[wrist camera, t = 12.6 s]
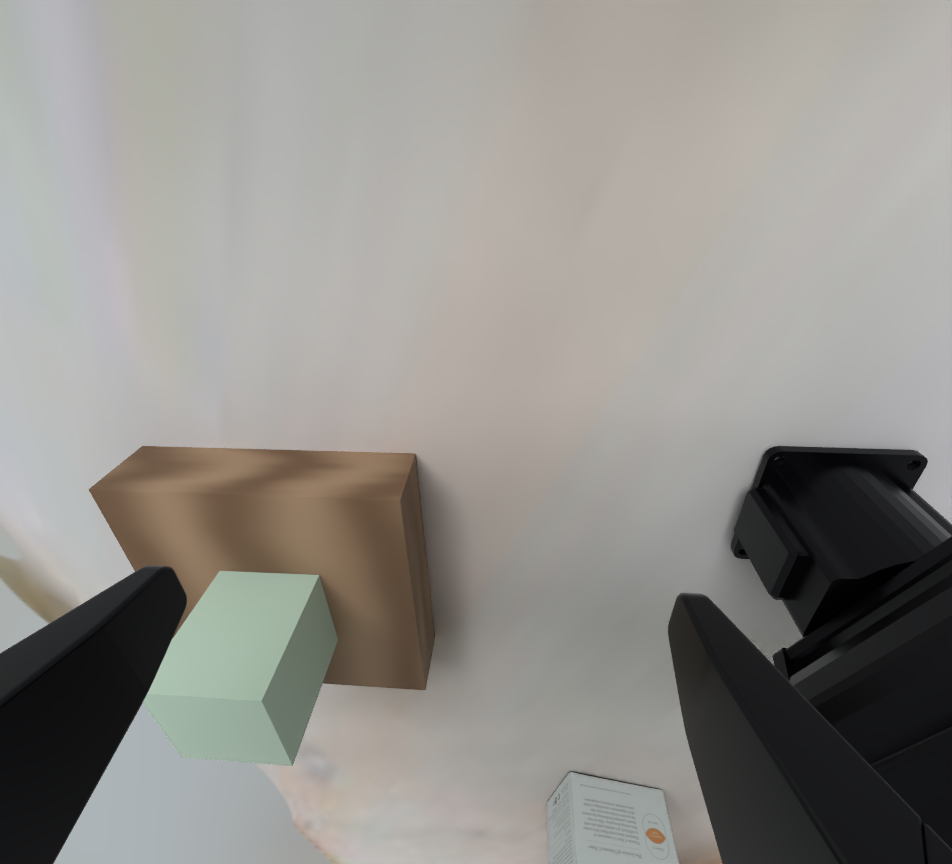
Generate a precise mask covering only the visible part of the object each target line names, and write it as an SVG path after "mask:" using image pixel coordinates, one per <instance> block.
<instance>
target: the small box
mask: <svg viewBox="0 0 952 864" xmlns="http://www.w3.org/2000/svg"><path fill="white" fill-rule="evenodd" d="M546 808H547V830H548V854H549V864H679V859H678V854H677V850H676V845H675V841H674V836H673V832H672V828H671V823H670V819H669V814H668V810H667V806H666V801H665V797H664V793H663V791H662V790H660V789H654V788H649V787H644V786H638V785H633V784H628V783H623V782H618V781H613V780H608V779H603V778H598V777H593V776H588V775H583V774H578V773H574V772H570V773H569V774H568V775H567V776H566V777H565V779H564V780H563V781H562V783H561V784H560V786H559V787H558V788H557V790H556V791H555V792H554V794H553V795H552V797H551V798H550V799H549V801H548V802H547V804H546Z"/></svg>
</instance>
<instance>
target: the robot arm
mask: <svg viewBox="0 0 952 864" xmlns="http://www.w3.org/2000/svg"><path fill="white" fill-rule="evenodd" d="M778 456H781V457H780V458H779V459H778V460H774V459H775V458H776V457H778ZM910 462H911V463H910ZM927 462H928V461H927V458H926V457H924V456H923V455H922V454H920V453H919V452H918V451H915V450H891V449H857V448H823V447H789V446H777V447H773V448H770V449H769V450H767V451H766V452H765V454H764V456H763V459H762V461H761V464H760V467H759V470H758V472H757V475H756V478H755V480H754V483H753V486H752V488H751V489H750V490H749V491H748V493H747V496H746V498H745V501H744V504H743V507H742V509H741V512H740V515H739V518H738V520H737V523H736V526H735V529H734V531H735V535H734V538H733V541H732V543H731V550H732V552H733V554H734V555H735V557H737V558H741V559H750V560H751V562H752V564H753V566H754V568H755V570H756V571H757V573H758V575H759V577H760V579H761V581H762V582H763V584H764V586H765V588H766V590H767V592H768V593H769V594H770V596H771V597H772V598H773V599H776V600H782V601H783V602H784V604H785V606H786V608H787V610H788V611H789V613H790V615H791V617H792V618H793V620H794V622H795V624H796V625H797V627H798V629H799V631H800V632H801V634H802V636H803V638H802V639H800V640H799V641H797V642H796V643H794V644H793V645H792V646H790V647H789V648H787V649H786V648H782V649H781V650H780V651H778V652H777V653H775V654H774V655H773V660H774V665H775V666H774V665H773V664H772V663H771V662H770V661H769V660H768V659H767V658H766V657H765V656H764V655H763V654H762V653H761V652H760V651H759V650H758V649H757V648H756V647H755V646H754V644H753V643H752V642H751V641H750V640H749V639H748V638H747V637H746V636H745V635H744V634H743V633H742V632H741V631H740V630H739V629H738V628H737V627H736V626H735V625H734V624H733V623H732V622H731V621H730V620H729V619H728V618H727V617H726V616H725V614H724V613H723V612H722V611H721V610H720V609H719V608H718V607H717V606H716V605H715V604H714V603H713V602H712V601H711V600H710V599H709V598H708V597H706V596H705V595H703V594H692V593H681V594H679V595H678V596H677V598H676V601H675V605H674V608H673V611H672V614H671V618H670V621H669V625H668V636H669V643H670V648H671V654H672V660H673V665H674V671H675V677H676V682H677V688H678V694H679V700H680V705H681V711H682V716H683V722H684V727H685V732H686V736H687V739H688V743H689V747H690V751H691V754H692V758H693V761H694V765H695V768H696V772H697V775H698V779H699V782H700V786H701V789H702V793H703V796H704V800H705V804H706V807H707V811H708V814H709V818H710V821H711V825H712V828H713V832H714V835H715V839H716V842H717V846H718V849H719V853H720V856H721V860H722V863H723V864H952V524H950V523H949V522H948V521H947V520H946V519H945V518H944V517H943V516H942V515H940V514H939V513H938V512H937V511H936V510H935V509H934V508H933V507H931V506H930V505H929V504H928V503H927V502H926V501H925V500H924V499H922V498H921V497H920V496H919V495H918V494H917V493H916V492H915V491H913V490H912V489H913V487H914V486H915V484H916V482H917V481H918V479H919V477H920V476H921V474H922V472H923V471H924V469H925V467H926V465H927ZM742 548H743V549H742ZM186 605H187V595H186V593H185V591H184V589H183V587H182V585H181V583H180V581H179V579H178V577H177V575H176V573H175V571H174V569H173V568H171V567H169V566H160V565H149V566H145V567H143V568H141V569H139V570H138V571H136V572H134V573H133V574H131V575H129V576H128V577H126V578H124V579H123V580H121V581H119V582H118V583H116V584H114V585H113V586H111V587H109V588H108V589H106V590H104V591H103V592H101V593H100V594H98V595H96V596H95V597H93V598H91V599H90V600H88V601H86V602H85V603H83V604H81V605H80V606H78V607H76V608H75V609H73V610H71V611H70V612H68V613H66V614H65V615H63V616H61V617H60V618H58V619H57V620H55V621H53V622H52V623H50V624H48V625H47V626H45V627H43V628H42V629H40V630H38V631H37V632H35V633H34V634H32V635H30V636H28V637H27V638H25V639H23V640H22V641H20V642H19V643H17V644H15V645H13V646H12V647H10V648H8V649H7V650H5V651H4V652H2V653H0V864H53V863H54V861H55V860H56V858H57V856H58V854H59V852H60V850H61V849H62V847H63V845H64V843H65V842H66V840H67V838H68V836H69V834H70V833H71V831H72V829H73V827H74V825H75V824H76V822H77V820H78V818H79V816H80V815H81V813H82V811H83V809H84V807H85V806H86V804H87V802H88V800H89V798H90V797H91V795H92V793H93V791H94V789H95V788H96V786H97V784H98V782H99V780H100V778H101V776H102V775H103V773H104V771H105V770H106V767H107V766H108V764H109V762H110V761H111V759H112V757H113V755H114V753H115V752H116V750H117V748H118V746H119V744H120V743H121V741H122V739H123V737H124V735H125V734H126V732H127V730H128V728H129V726H130V725H131V723H132V721H133V719H134V717H135V716H136V714H137V712H138V710H139V708H140V706H141V705H142V703H143V701H144V699H145V697H146V695H147V693H148V691H149V689H150V687H151V685H152V683H153V681H154V679H155V677H156V674H157V672H158V670H159V668H160V665H161V663H162V661H163V659H164V656H165V654H166V652H167V650H168V647H169V645H170V643H171V641H172V638H173V636H174V634H175V632H176V629H177V627H178V625H179V622H180V620H181V618H182V616H183V613H184V611H185V609H186Z"/></svg>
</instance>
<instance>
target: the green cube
mask: <svg viewBox="0 0 952 864" xmlns="http://www.w3.org/2000/svg"><path fill="white" fill-rule="evenodd" d="M337 641H338V638H337V634H336V631H335V627H334V624H333V621H332V617H331V614H330V610H329V607H328V603H327V600H326V597H325V593H324V590H323V586H322V583H321V579H320V576H319V575H308V574H284V573H260V572H237V571H219V573H218V574H217V575H216V577H215V578H214V580H213V581H212V583H211V584H210V586H209V587H208V588H207V590H206V591H205V593H204V594H203V596H202V597H201V599H200V600H199V601H198V603H197V604H196V606H195V607H194V609H193V610H192V612H191V613H190V614H189V616H188V617H187V619H186V620H185V622H184V623H183V625H182V626H181V627H180V629H179V630H178V632H177V633H176V635H175V636H174V638H173V639H172V641H171V643H170V645H169V647H168V650H167V652H166V654H165V656H164V659H163V661H162V663H161V665H160V668H159V670H158V672H157V674H156V677H155V679H154V681H153V683H152V685H151V687H150V689H149V691H148V693H147V695H146V697H145V699H144V701H143V704H144V706H145V707H146V709H147V710H148V711H149V712H150V714H151V716H152V717H153V718H154V720H155V721H156V722H157V724H158V725H159V727H160V728H161V729H162V731H163V732H164V734H165V735H166V736H167V738H168V739H169V740H170V742H171V743H172V745H173V746H174V747H175V749H176V750H177V751H178V753H179V754H180V756H181V757H183V758H197V759H210V760H223V761H236V762H250V763H262V764H275V765H288V766H293V763H294V761H295V758H296V755H297V752H298V749H299V747H300V744H301V741H302V738H303V736H304V733H305V730H306V727H307V724H308V722H309V719H310V716H311V713H312V711H313V708H314V705H315V702H316V700H317V697H318V694H319V691H320V688H321V686H322V683H323V680H324V677H325V675H326V672H327V669H328V666H329V664H330V661H331V658H332V655H333V652H334V650H335V647H336V644H337Z"/></svg>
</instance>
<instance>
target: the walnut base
mask: <svg viewBox="0 0 952 864" xmlns="http://www.w3.org/2000/svg"><path fill="white" fill-rule="evenodd" d="M89 491H90V493H91V494H92V496H93V498H94V500H95V501H96V503H97V505H98V507H99V509H100V510H101V512H102V514H103V516H104V517H105V519H106V521H107V523H108V524H109V526H110V528H111V530H112V531H113V533H114V535H115V537H116V538H117V540H118V542H119V544H120V546H121V547H122V549H123V551H124V553H125V554H126V556H127V558H128V560H129V561H130V563H131V565H132V567H133V568H134V570H135V572H136V571H138V570H139V569H141V568H143V567H145V566H149V565H160V566H169V567H171V568H173V569H174V571H175V573H176V575H177V577H178V579H179V581H180V583H181V585H182V587H183V589H184V591H185V593H186V595H187V605H186V609H185V611H184V613H183V616H182V618H181V620H180V622H179V625H178V627H177V629H176V632H175V634H174V636H175V635H176V633H177V632H178V630H179V629H180V627H181V626H182V625H183V623H184V622H185V620H186V619H187V617H188V616H189V614H190V613H191V612H192V610H193V609H194V607H195V606H196V604H197V603H198V601H199V600H200V599H201V597H202V596H203V594H204V593H205V591H206V590H207V588H208V587H209V586H210V584H211V583H212V581H213V580H214V578H215V577H216V575H217V574H218V573H219V571H237V572H260V573H284V574H308V575H319V576H320V579H321V583H322V586H323V590H324V593H325V597H326V600H327V603H328V607H329V610H330V614H331V617H332V621H333V624H334V627H335V631H336V634H337V638H338V641H337V644H336V647H335V650H334V652H333V655H332V658H331V661H330V664H329V666H328V669H327V672H326V675H325V677H324V680H323V683H326V684H341V685H356V686H371V687H386V688H401V689H415V690H426V685H427V679H428V673H429V667H430V661H431V656H432V650H433V644H434V638H435V632H434V622H433V613H432V604H431V594H430V585H429V575H428V566H427V557H426V547H425V538H424V528H423V519H422V510H421V500H420V491H419V481H418V472H417V463H416V454H410V453H374V452H337V451H301V450H265V449H228V448H192V447H156V446H142V447H141V448H139V449H138V450H137V451H136V452H135V453H133V454H132V455H131V456H130V457H128V458H127V459H126V460H125V461H123V462H122V463H121V464H120V465H118V466H117V467H116V468H115V469H113V470H112V471H111V472H110V473H109V474H107V475H106V476H105V477H104V478H102V479H101V480H100V481H99V482H97V483H96V484H95V485H94V486H92V487H91V488H90V489H89ZM174 636H173V638H174Z"/></svg>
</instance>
